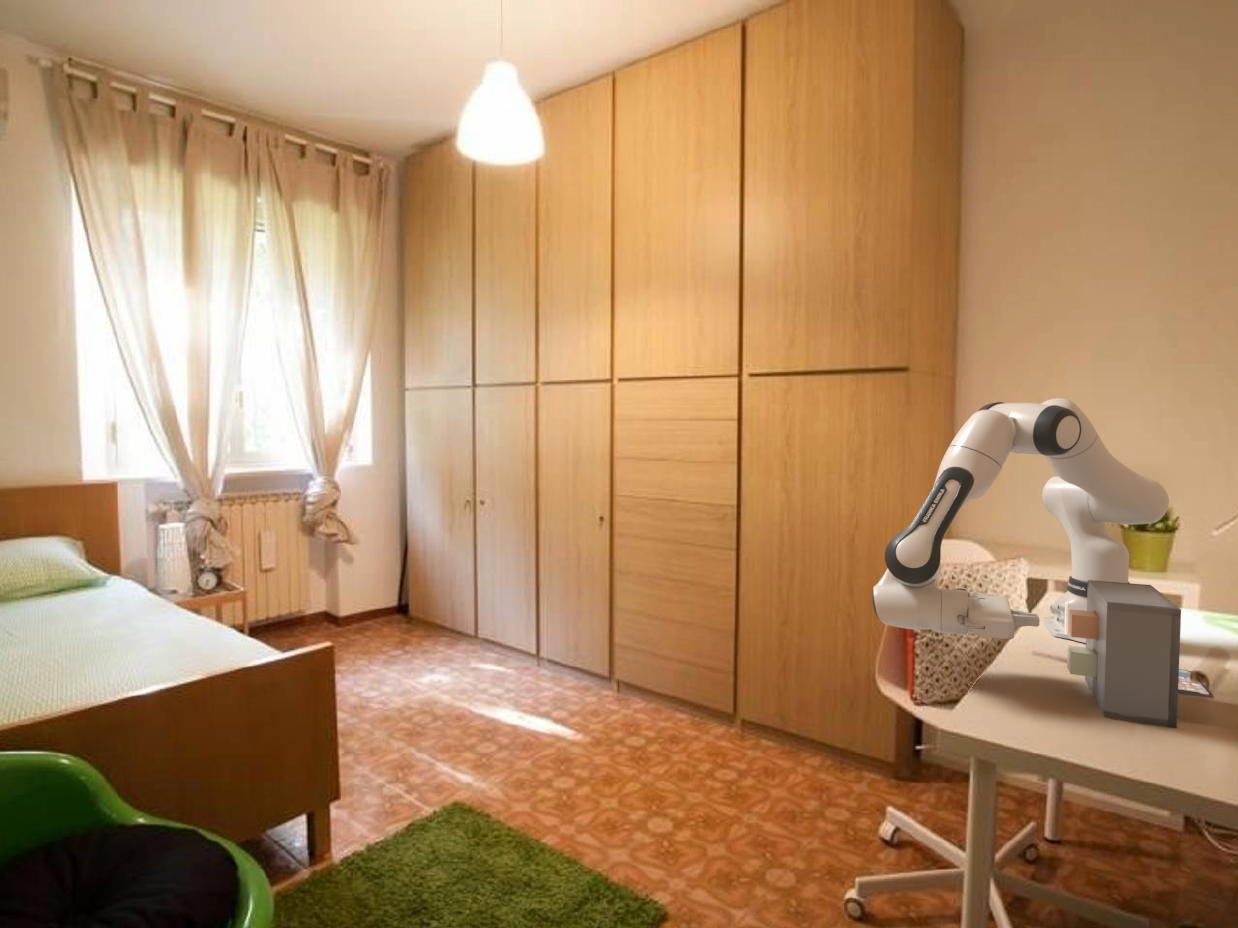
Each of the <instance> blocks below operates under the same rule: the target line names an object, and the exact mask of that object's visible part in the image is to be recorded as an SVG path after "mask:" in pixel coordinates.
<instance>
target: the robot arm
mask: <svg viewBox="0 0 1238 928" xmlns="http://www.w3.org/2000/svg"><path fill="white" fill-rule="evenodd" d="M950 442H951V443H949V446H948V448H947V450H946V451H945V453H944V455H943V458H942V460H941V461H940V462H941V463H940V465H939V467H938V470H937V473H936V478H935V479H934V480H935V481H934V483H933V486H932V488H931V490H930V492H929V494H928V495H927V498H926V499H925V501H924V502H923V504H922V506H921V508H920V509H919V511H918V512H917V514H916V516H915V517H914V519H913V520H912V522H911V523H910V524H909V525H908V526H907V527H906V528H904V529H903V530H901V531H900V532H899V533H897V534H896V535H895V536H894V537H893V538H892V539H891V540H889V542H888V544H887V546H886V547H885V550H884V561H885V565H886V567H887V568H886V570H885V572H884V574H883V575H882V577H881V578H880V579H879V581H878V582H877V583H876V584H875V585H874V586H873V587H872V591H871V599H872V600H871V601H872V606H873V610H874V613H875V616H876V619H878V620H879V621H880V622H881V623H882V624H884V625H887V626H891V627H896V628H900V629H906V630H907V629H908V630H915V631H916V630H917V631H919V630H931V631H935V632H937V633H940V634H941V633H942V634H949V635H958V636H968V633H970V634H972V635H976V636H980V637H985V638H992V639H999V640H1013V639H1014V637H1015V636H1014V635H1015V627H1016V628H1023V627H1036V628H1037V627H1039V626H1040V620H1041V619H1040V618H1039V615H1038V614H1037V613H1034V612H1033V613H1032V612H1031V613H1030V612H1026V611H1023V610H1018V609H1013V608H1012V609H1011V606H1010V602H1009V599H1008V597H1006V596H1005V597H1004V596H1001V595H998V594H997V595H996V594H991V593H983V592H978V591H969V589H968V588H965V587H964V588H963V587H956V588H940V587H938V586H937V584H938V579H939V578H940V577H941V576H940V575H941V570H942V567H941V566H942V563H941V559H942V558H941V557H942V555H941V553H942V551H941V549H942V548H941V547H942V542H943V540H944V538H945V536H946V534H947V532H948V531H949V529H950V527H951V526H952V523H953V522H954V520H955V518H956V517H957V515H958V513H959V512H960V510H961V509H962V507H963V506H964V505H966V504H967V502H969V501H972V500H975V499H979V498H981V497H983V496H984V495H985V494H986V493H987V491H988V490H989V489H990V488H991V487H992V485H993V484H994V483H995V481H996V480H997V478H998V477H999V475H1000V473H1001V471H1002V470H1003V467H1004V465H1005V464H1006V462H1007V460H1008V457H1009V455H1010V453H1013V454H1014V453H1015V454H1029V455H1043V456H1044V457H1045V459H1046V460H1047V461H1048V463H1049V465H1050V466H1051V468H1052V470H1053V471H1054V473H1055V474H1056V475H1055V476H1051V477H1050V478H1049V479H1048V480H1047V481H1046V482H1045V484H1044V486H1043V488H1042V492H1041V498H1042V503H1043V505H1044V506H1045V508H1046V510H1047V511H1048V512H1049V513H1050V514H1052V515H1053V516H1054V517H1055V518H1056V519H1057V520H1058V521H1059V523H1060V524H1061V526H1062V527H1063V530H1065V533H1066V535H1067V538H1068V540H1069V546H1070V553H1071V554H1070V556H1071V575H1070V576H1068V581H1067V587H1066V590H1067V591H1066V592H1065V593H1064V594H1062V595H1061V596H1060V597H1059V598H1057V599H1056V600H1055V602H1054V604H1050V607H1049V611H1050V614H1051V615H1053V616H1045V617H1043V619H1042V622H1043V623H1044V625H1045V627H1046V628H1047V629H1048V630H1049V632H1050V633H1051V635H1053V637H1057V638H1063V639H1067V640H1072V641H1074V642H1075V641H1076V642H1080V643H1084V644H1086V638H1077V637H1071V635H1070V633H1069V631H1068V620H1069V609H1073V610H1083V611H1087V592H1088V580H1094V581H1106V582H1119V583H1131V582H1130V581H1129V572H1130V571H1129V565H1130V552H1129V550H1128V547H1127V546H1126V545H1125V544H1124V543H1123V542H1122V541H1120V540H1119V539H1117V538H1115V537H1113V536H1112V535H1111V533H1109V531H1108V529H1107V527H1106V526H1105V523H1110V524H1111V523H1112V524H1120V525H1127V526H1130V525H1132V526H1133V525H1148V524H1155V523H1157V522H1159V521H1160V520H1161V519H1162V518H1163V517H1165V515H1166V513H1167V511H1168V509H1169V505H1170V504H1169V503H1170V502H1169V501H1170V500H1169V495H1168V493H1167V490H1166V489H1165V487H1164V486H1163V485H1162V484H1161V483H1160V482H1159V481H1157V480H1156V481H1155V480H1152V479H1150V478H1149V477H1145V476H1144V475H1142V474H1139V473H1137V472H1136V471H1133V470H1132V469H1131V468H1129V467H1127V466H1126V465H1124V464H1123V463H1122V462H1121V461H1119V459H1117V458H1116V457H1114V456H1113V455H1112V454H1111V453H1110V451H1109V450H1108V448H1107V447H1106V445H1105V444H1104V442H1103V441H1102V438H1101V437H1100V436H1099V433H1098V431H1097V430H1096V428H1095V426H1094V425H1093V423H1092V422H1091V420H1090V419H1089V418H1088V416H1087V415H1086V414H1085V412H1084V411H1082V409H1081V408H1080V407H1079V406H1078V405H1077V404H1076V403H1075V402H1074V401H1072V400H1070V399H1068V398H1063V397H1062V398H1061V397H1054V398H1050V399H1047V400H1044V401H1043V402H1041V403H1039V402H1038V403H1037V402H1028V401H1027V402H1025V401H1024V402H1001V401H998V402H991V403H987V404H985V405H982V407H981V408H979V409H978V410H977V411H976V412H974V413H972V414H971V415H970V417H969V418H968V419H967V420H966V421H965V422H964V424H963V425H962V426H961V428H960V429H959V431H958V432H957V433H956V435H955V436H954V438H953V439H952V441H950Z"/></svg>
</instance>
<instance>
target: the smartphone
mask: <svg viewBox="0 0 1238 928" xmlns="http://www.w3.org/2000/svg"><path fill="white" fill-rule="evenodd" d="M1190 672H1191V671H1190V670H1188V669H1181V668H1179V682H1178V695H1186V696H1193V697H1194V696H1195V697H1200V698H1212V697H1213V694H1212V693H1211V692H1210V691H1209V690H1208V688H1207V687H1205V685H1204V684H1203V683H1202V684H1203V685H1202V684H1195V683H1190V682H1188V681H1187V678H1189V673H1190Z"/></svg>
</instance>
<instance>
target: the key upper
mask: <svg viewBox="0 0 1238 928" xmlns="http://www.w3.org/2000/svg"><path fill="white" fill-rule="evenodd" d="M1098 618H1099V616H1098V614H1097V613H1096V612H1094V611H1083V610H1073V609H1069V620H1068V631H1069V633H1070V635H1071V637H1077V638H1086V639H1095V640H1098Z"/></svg>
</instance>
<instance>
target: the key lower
mask: <svg viewBox="0 0 1238 928" xmlns="http://www.w3.org/2000/svg"><path fill="white" fill-rule="evenodd" d="M1066 657H1067V659H1066V660H1067V662H1066V666H1067V667H1066V668H1067V670H1068V672H1069V675H1074V676H1075V675H1076V676H1082V677H1085V676H1089V677H1097V652H1096V651H1095V649H1094V648H1086V646H1077V645H1069V644H1068V645H1067V656H1066Z"/></svg>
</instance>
